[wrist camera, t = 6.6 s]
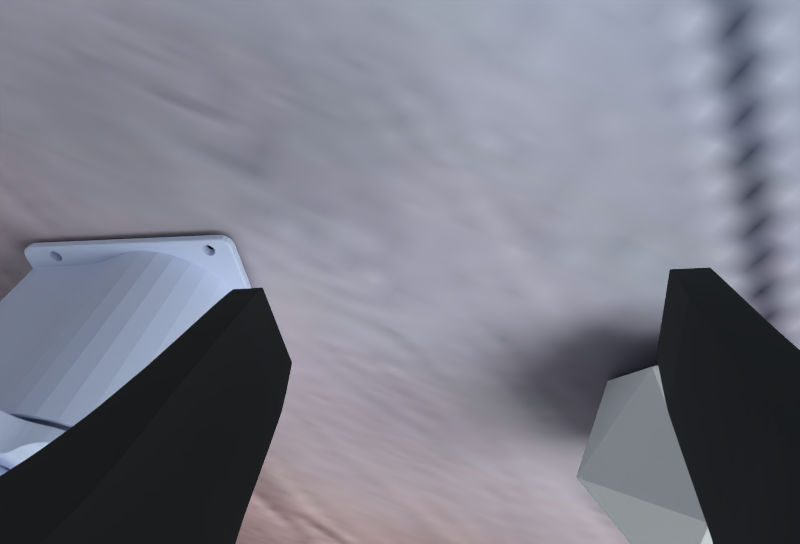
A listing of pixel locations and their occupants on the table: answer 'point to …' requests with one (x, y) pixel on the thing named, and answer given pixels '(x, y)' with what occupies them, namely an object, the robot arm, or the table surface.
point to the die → (641, 465)
